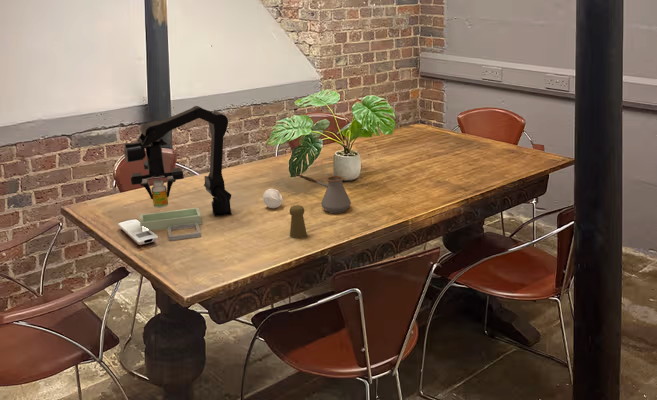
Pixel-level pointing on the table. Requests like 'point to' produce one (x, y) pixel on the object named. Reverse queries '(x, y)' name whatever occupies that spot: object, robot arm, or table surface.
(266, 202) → the crumpled paper ball
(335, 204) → the coffee pot
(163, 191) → the supplement bottle
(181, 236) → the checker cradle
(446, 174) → the table surface
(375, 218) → the table surface
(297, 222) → the brown pawn
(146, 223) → the trough
